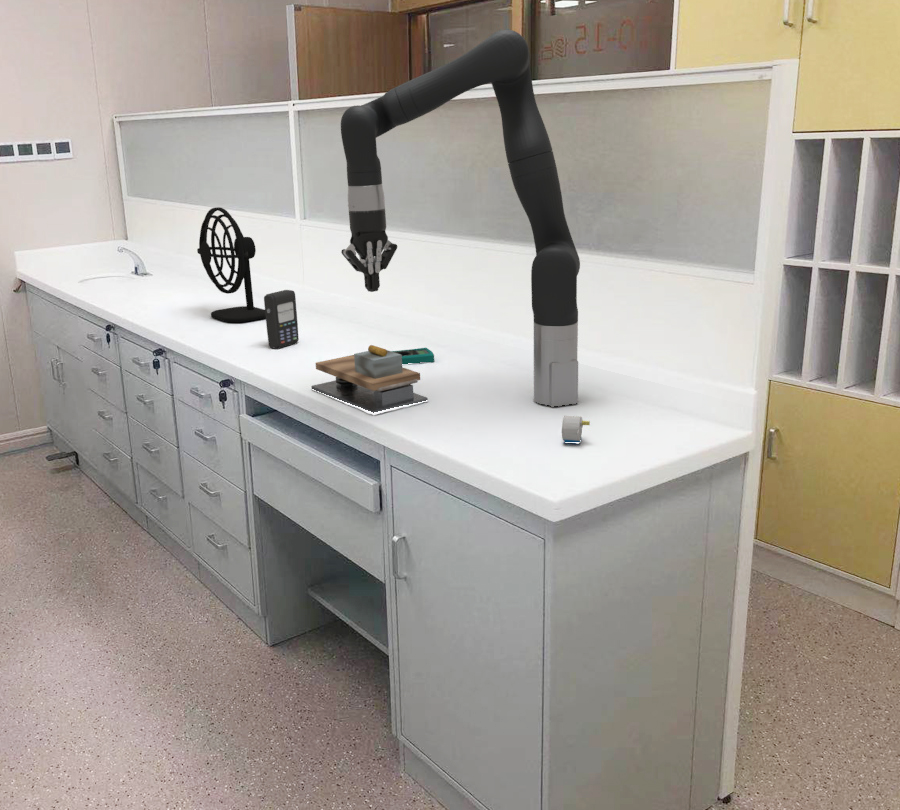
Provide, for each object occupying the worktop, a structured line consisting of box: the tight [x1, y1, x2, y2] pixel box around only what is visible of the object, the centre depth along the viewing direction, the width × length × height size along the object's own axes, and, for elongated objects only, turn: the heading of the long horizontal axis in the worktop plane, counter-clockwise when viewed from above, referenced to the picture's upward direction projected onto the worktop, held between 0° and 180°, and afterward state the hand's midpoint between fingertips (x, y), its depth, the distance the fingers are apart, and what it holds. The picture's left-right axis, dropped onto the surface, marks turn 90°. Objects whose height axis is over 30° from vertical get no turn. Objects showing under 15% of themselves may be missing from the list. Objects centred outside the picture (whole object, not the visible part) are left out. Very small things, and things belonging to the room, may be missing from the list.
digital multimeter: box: [390, 347, 435, 365], centre depth 227 cm, size 7×15×3 cm, turn 104°
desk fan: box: [196, 206, 266, 323], centre depth 281 cm, size 27×18×35 cm, turn 40°
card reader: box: [263, 289, 299, 349], centre depth 245 cm, size 9×4×15 cm, turn 146°
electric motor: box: [561, 415, 591, 443], centre depth 165 cm, size 7×5×5 cm
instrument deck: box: [315, 344, 421, 392], centre depth 196 cm, size 24×12×8 cm, turn 38°
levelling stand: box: [310, 376, 428, 413], centre depth 198 cm, size 26×14×5 cm, turn 38°
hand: (372, 290), depth 189 cm, fingers closed
